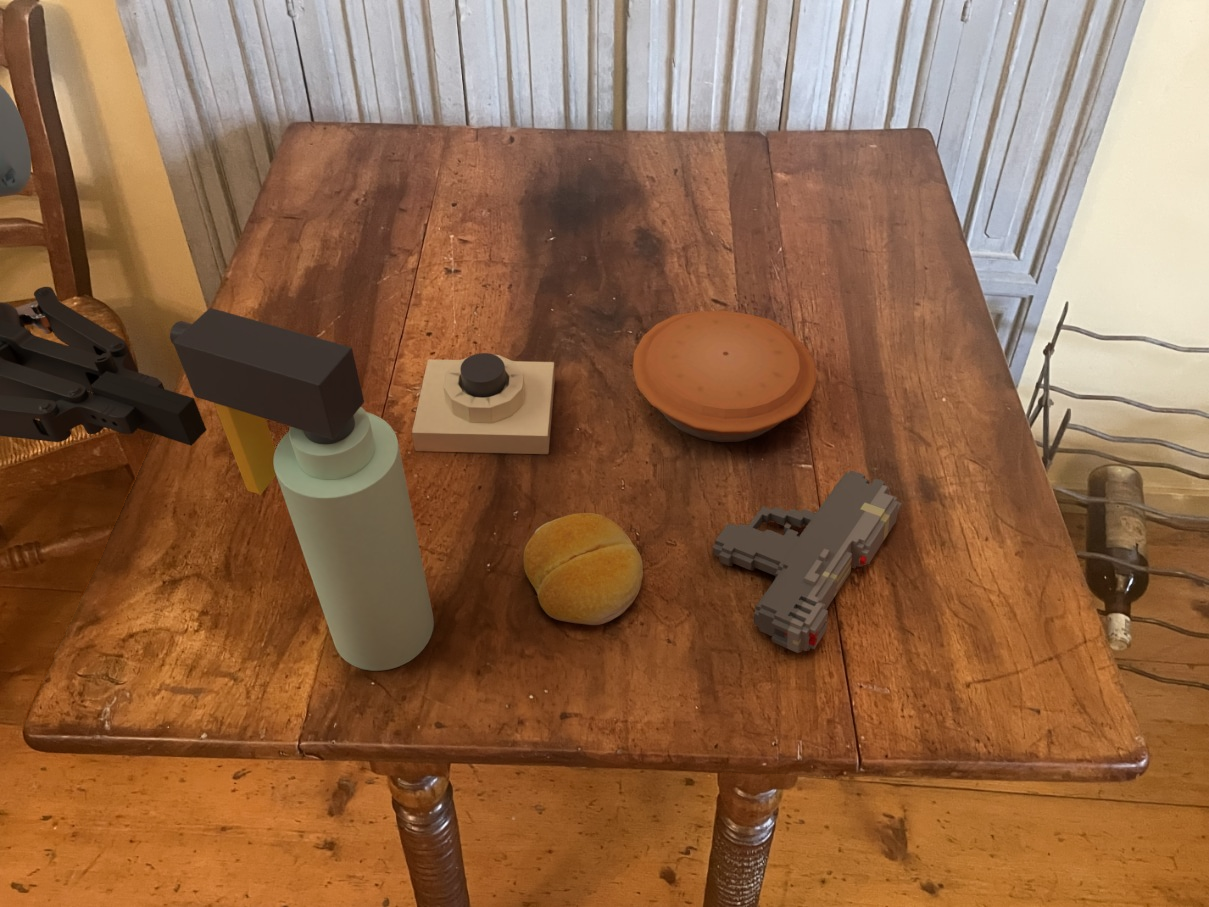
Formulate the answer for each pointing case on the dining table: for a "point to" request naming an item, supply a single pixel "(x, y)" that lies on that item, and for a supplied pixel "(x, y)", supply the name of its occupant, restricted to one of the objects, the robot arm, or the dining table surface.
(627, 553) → the bread roll
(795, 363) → the pie
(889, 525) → the toy gun
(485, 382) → the timer button
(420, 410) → the timer
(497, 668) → the dining table surface
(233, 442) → the strip
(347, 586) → the spray bottle
